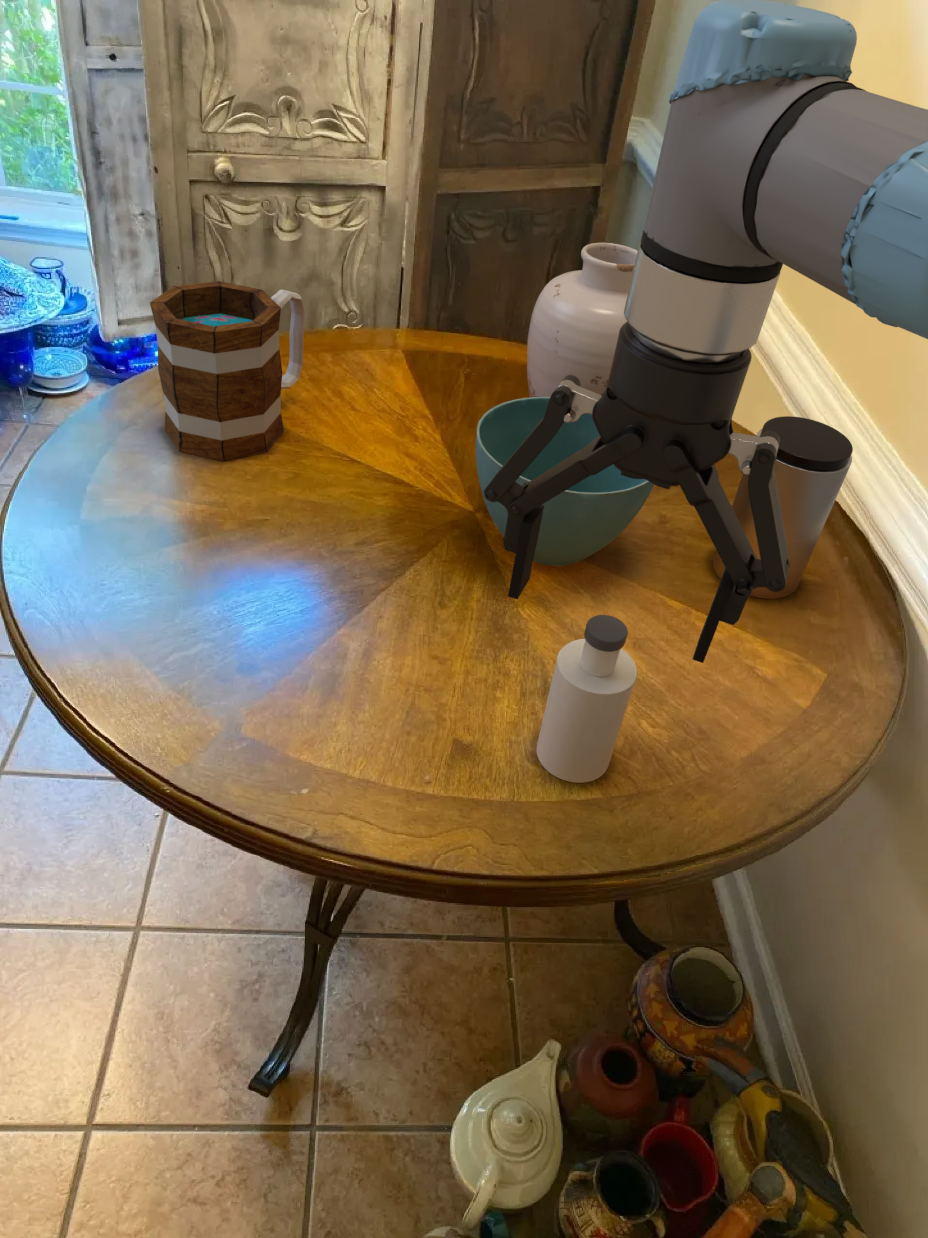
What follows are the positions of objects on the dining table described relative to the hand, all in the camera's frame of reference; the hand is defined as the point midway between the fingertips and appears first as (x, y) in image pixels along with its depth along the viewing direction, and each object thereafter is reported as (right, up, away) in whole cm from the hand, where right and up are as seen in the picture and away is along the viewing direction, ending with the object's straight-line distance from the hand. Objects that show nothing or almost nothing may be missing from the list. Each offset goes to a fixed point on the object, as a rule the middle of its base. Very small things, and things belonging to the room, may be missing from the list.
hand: (607, 618), depth 65 cm
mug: (-36, +23, +44) cm, 62 cm away
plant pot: (-1, +8, +32) cm, 33 cm away
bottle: (-1, -11, +9) cm, 14 cm away
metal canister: (+20, +5, +31) cm, 38 cm away
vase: (+4, +22, +49) cm, 54 cm away
